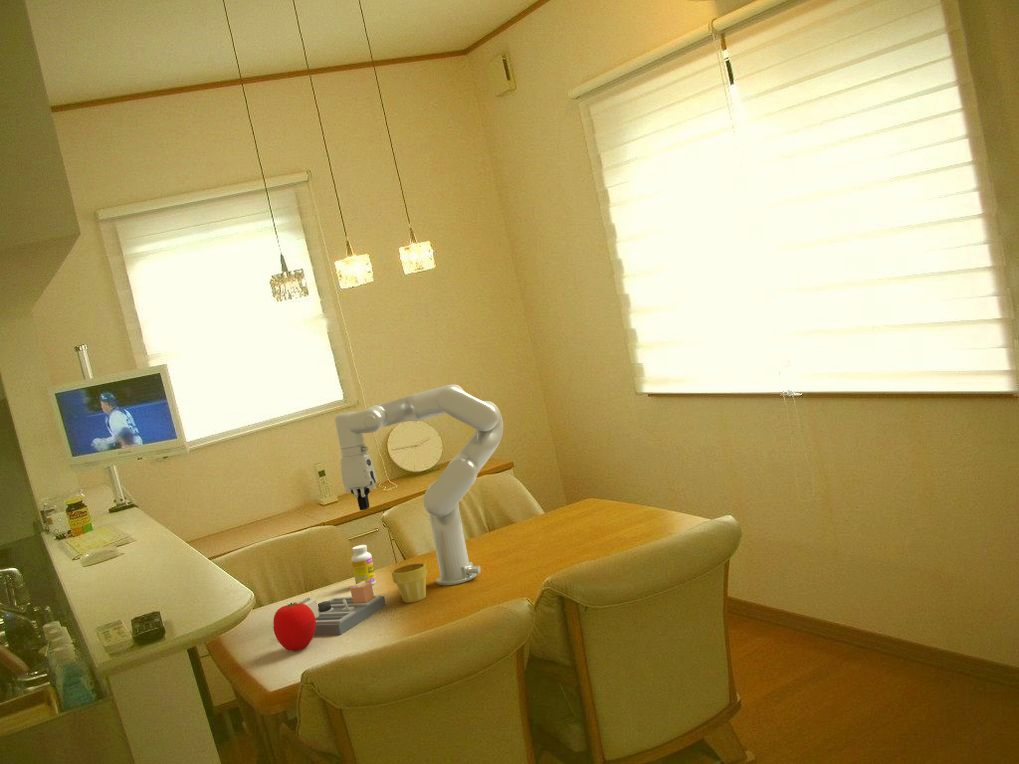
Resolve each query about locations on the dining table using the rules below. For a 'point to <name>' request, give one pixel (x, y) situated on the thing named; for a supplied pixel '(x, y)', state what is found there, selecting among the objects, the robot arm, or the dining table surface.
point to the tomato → (294, 626)
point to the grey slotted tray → (346, 614)
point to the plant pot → (411, 581)
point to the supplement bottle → (363, 565)
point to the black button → (324, 606)
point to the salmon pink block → (362, 592)
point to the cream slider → (311, 606)
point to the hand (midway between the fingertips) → (364, 509)
